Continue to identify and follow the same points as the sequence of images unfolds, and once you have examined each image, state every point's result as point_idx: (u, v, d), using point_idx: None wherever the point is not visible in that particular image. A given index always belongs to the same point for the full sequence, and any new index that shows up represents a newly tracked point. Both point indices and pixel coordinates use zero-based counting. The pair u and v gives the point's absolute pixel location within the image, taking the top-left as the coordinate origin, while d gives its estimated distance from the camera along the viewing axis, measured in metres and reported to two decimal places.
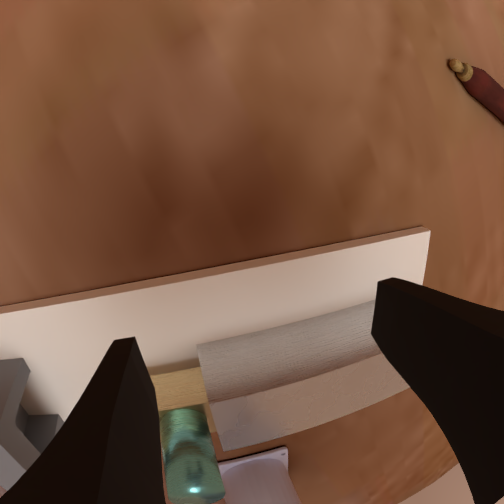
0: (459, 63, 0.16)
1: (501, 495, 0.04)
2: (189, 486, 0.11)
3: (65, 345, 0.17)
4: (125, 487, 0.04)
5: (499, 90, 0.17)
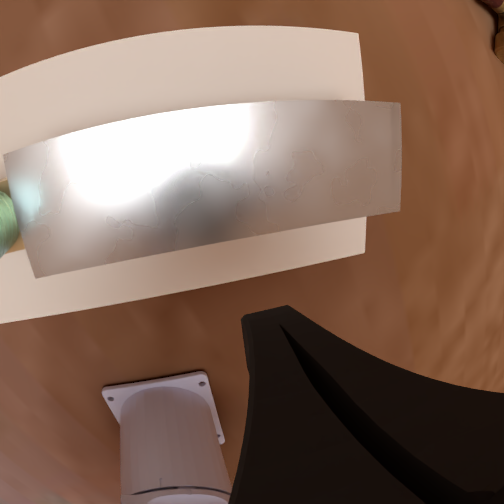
0: None
1: None
2: None
3: None
4: None
5: None
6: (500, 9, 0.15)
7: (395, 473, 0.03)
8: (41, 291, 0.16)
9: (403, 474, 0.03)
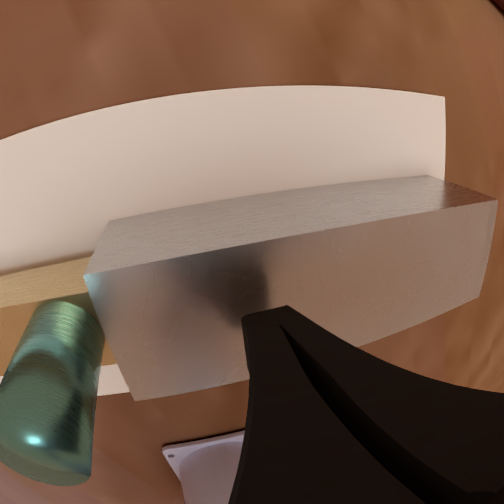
0: None
1: None
2: (1, 422, 0.04)
3: None
4: None
5: None
6: None
7: (395, 473, 0.03)
8: (106, 373, 0.15)
9: (403, 474, 0.03)
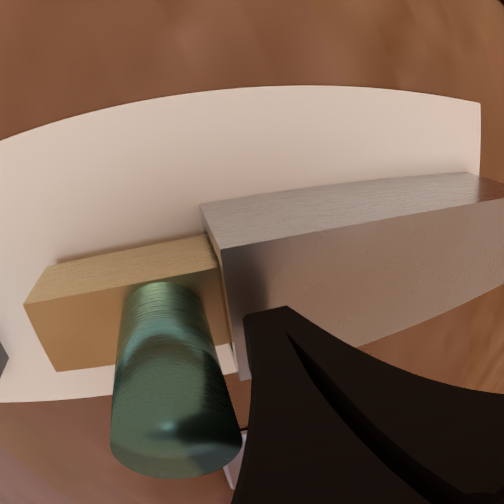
0: None
1: None
2: (155, 412, 0.05)
3: (10, 208, 0.11)
4: None
5: None
6: None
7: None
8: None
9: (401, 475, 0.03)
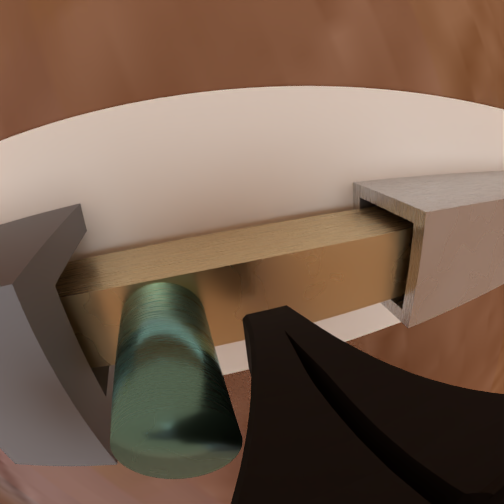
0: None
1: None
2: (155, 413, 0.05)
3: (166, 171, 0.12)
4: None
5: None
6: None
7: None
8: None
9: (401, 475, 0.03)
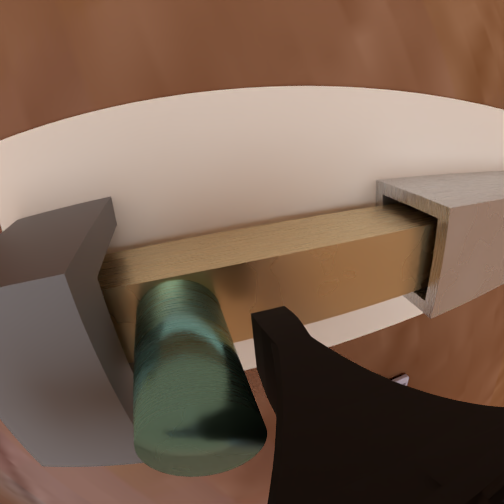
0: None
1: None
2: (183, 409, 0.05)
3: (201, 165, 0.12)
4: None
5: None
6: None
7: None
8: (327, 326, 0.17)
9: None
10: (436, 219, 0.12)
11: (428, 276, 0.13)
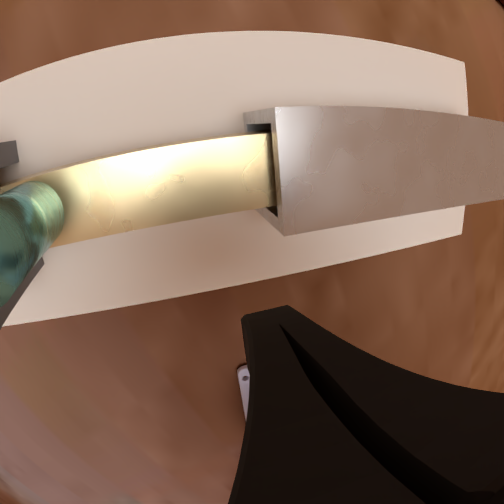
0: None
1: None
2: None
3: (77, 110, 0.13)
4: None
5: None
6: None
7: (395, 473, 0.03)
8: (209, 264, 0.18)
9: (403, 474, 0.03)
10: None
11: None
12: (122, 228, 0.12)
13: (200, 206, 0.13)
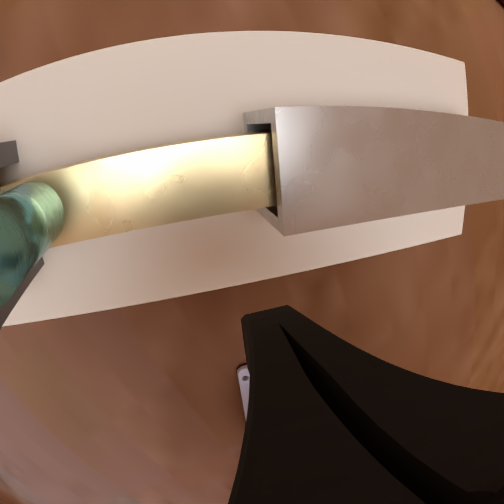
0: None
1: None
2: None
3: (77, 110, 0.13)
4: None
5: None
6: None
7: (395, 473, 0.03)
8: (209, 264, 0.18)
9: (403, 474, 0.03)
10: None
11: None
12: (122, 228, 0.12)
13: (200, 206, 0.13)
